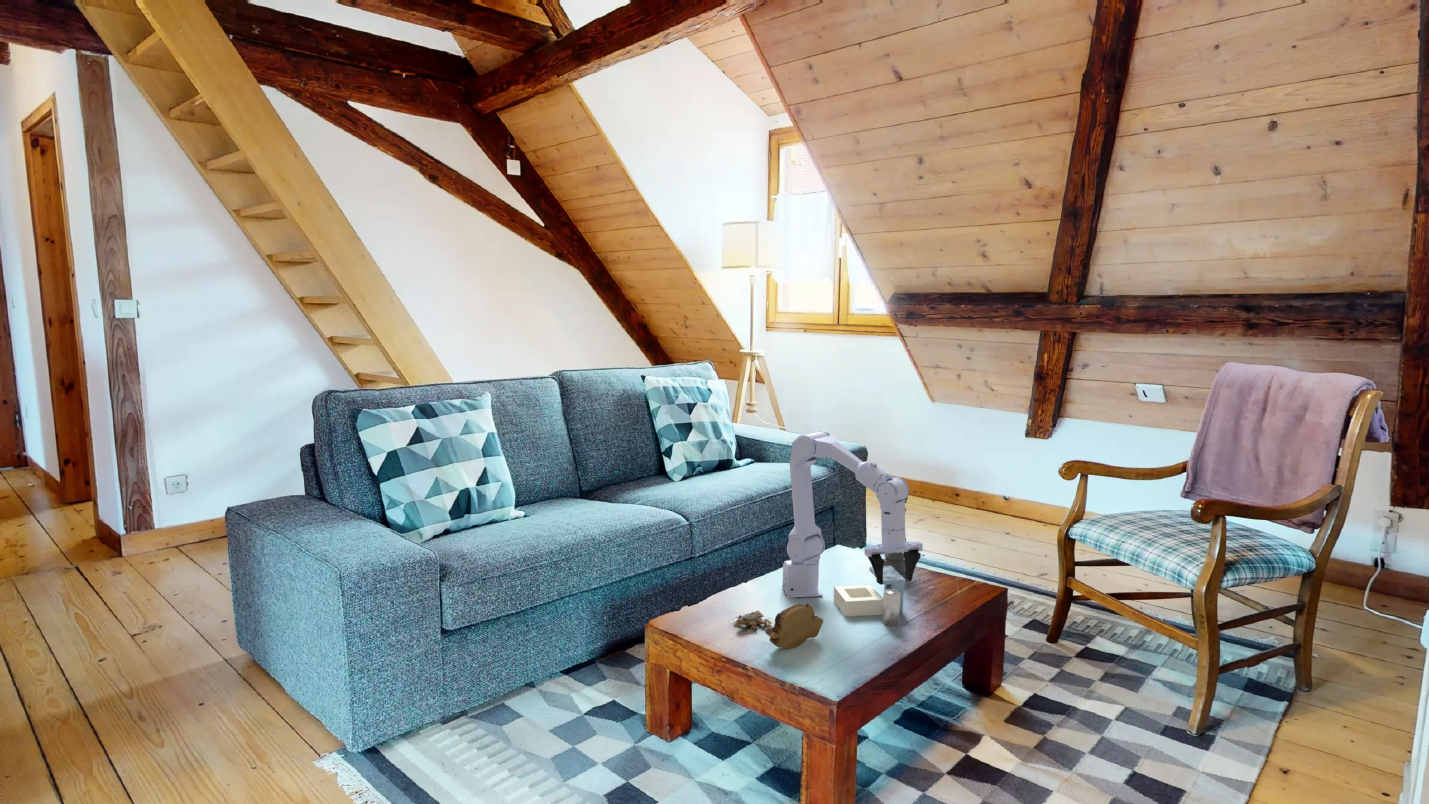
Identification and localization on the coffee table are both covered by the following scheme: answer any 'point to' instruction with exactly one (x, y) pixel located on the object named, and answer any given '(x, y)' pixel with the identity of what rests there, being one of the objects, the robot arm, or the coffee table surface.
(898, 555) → the candle holder
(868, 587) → the socket block
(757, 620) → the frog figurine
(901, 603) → the grey arch block
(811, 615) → the wooden carving
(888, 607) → the peg
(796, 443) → the robot arm
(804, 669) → the coffee table surface
